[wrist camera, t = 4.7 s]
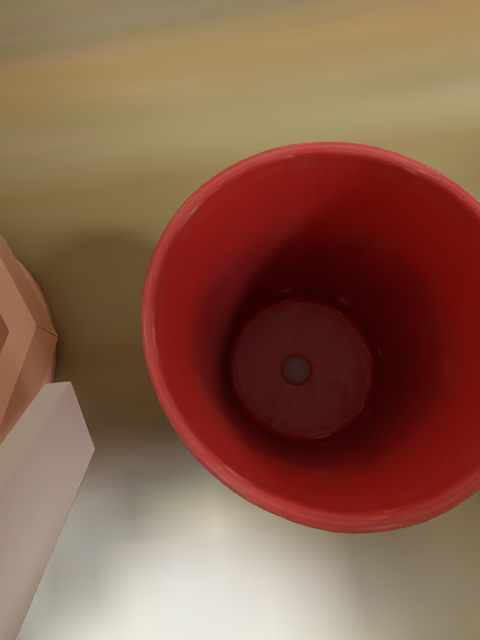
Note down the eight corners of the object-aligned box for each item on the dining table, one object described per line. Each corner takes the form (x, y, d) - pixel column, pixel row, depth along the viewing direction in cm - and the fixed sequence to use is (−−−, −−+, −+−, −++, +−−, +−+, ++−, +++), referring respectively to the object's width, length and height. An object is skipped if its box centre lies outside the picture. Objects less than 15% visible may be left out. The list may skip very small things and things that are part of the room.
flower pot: (185, 480, 18) (107, 523, 8) (202, 271, 21) (159, 136, 12) (413, 491, 17) (601, 551, 8) (392, 274, 20) (505, 137, 11)
